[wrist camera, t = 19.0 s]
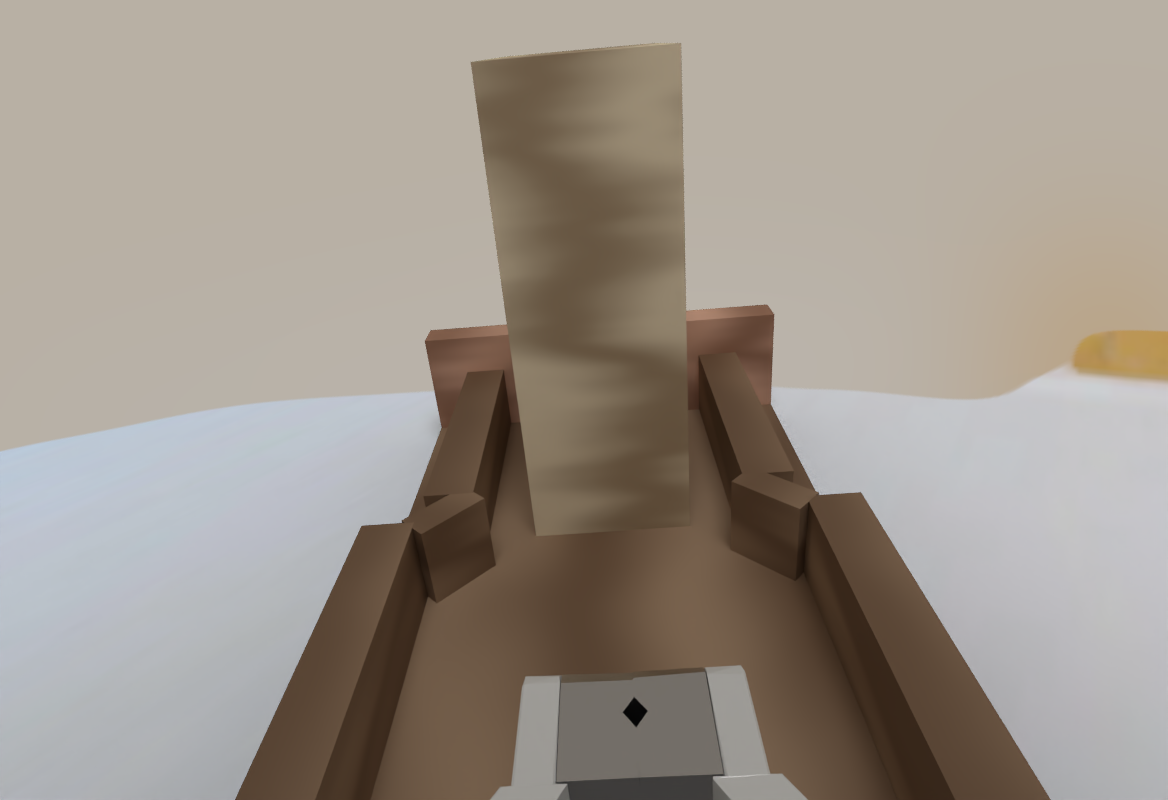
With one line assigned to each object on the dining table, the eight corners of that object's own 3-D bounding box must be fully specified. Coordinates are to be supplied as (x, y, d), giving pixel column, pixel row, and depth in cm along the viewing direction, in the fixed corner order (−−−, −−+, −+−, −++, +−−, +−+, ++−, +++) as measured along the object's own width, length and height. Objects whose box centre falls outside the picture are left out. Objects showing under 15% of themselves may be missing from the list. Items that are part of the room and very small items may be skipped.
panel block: (664, 411, 30) (652, 43, 24) (689, 526, 23) (681, 43, 17) (547, 420, 30) (504, 56, 24) (536, 536, 23) (471, 61, 17)
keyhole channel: (763, 411, 32) (767, 304, 29) (1027, 955, 13) (1093, 770, 11) (450, 434, 32) (430, 330, 30) (260, 987, 13) (168, 817, 11)
